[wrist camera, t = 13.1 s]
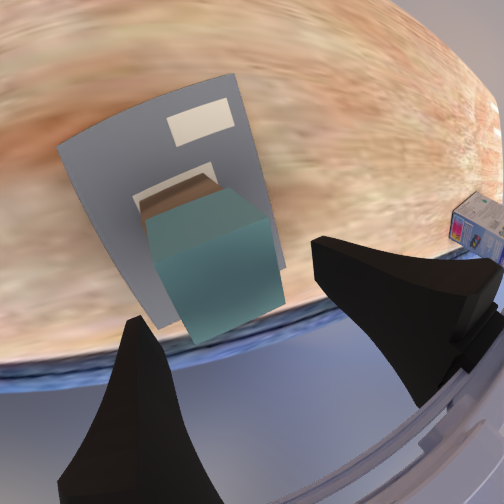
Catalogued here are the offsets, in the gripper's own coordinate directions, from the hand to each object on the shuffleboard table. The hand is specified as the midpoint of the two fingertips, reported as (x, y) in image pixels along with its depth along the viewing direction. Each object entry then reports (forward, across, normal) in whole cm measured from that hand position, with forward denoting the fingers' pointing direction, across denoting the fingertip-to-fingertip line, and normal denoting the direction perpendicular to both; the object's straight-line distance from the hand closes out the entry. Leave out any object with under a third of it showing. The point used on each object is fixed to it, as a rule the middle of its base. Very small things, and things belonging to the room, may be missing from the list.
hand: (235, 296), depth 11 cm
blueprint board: (+10, 0, 0) cm, 10 cm away
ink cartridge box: (+10, -41, +15) cm, 45 cm away
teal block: (+5, 0, 0) cm, 5 cm away
